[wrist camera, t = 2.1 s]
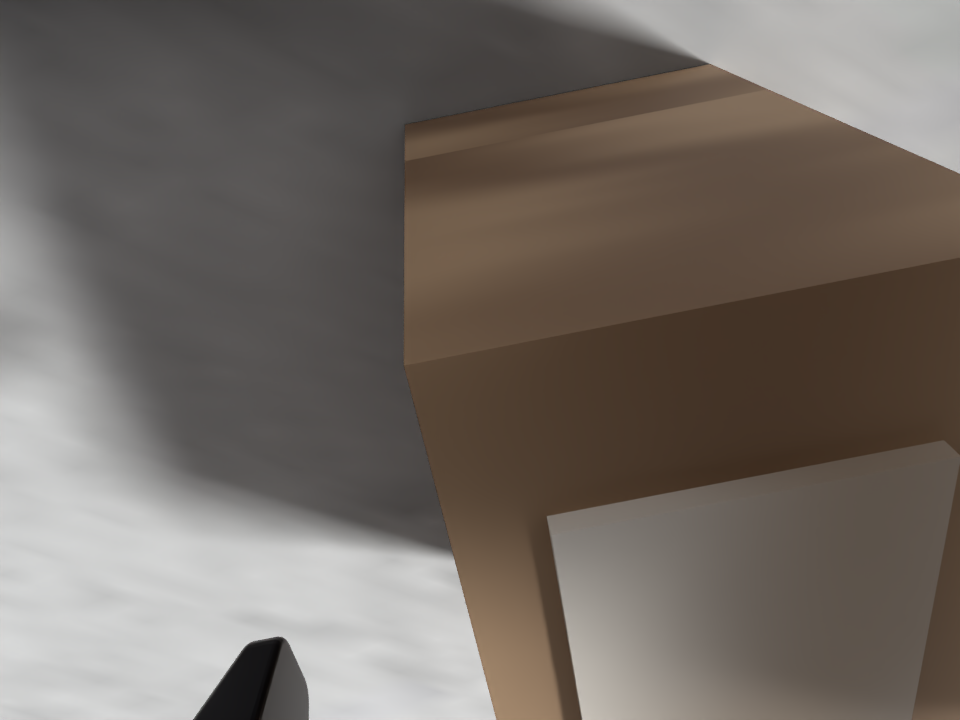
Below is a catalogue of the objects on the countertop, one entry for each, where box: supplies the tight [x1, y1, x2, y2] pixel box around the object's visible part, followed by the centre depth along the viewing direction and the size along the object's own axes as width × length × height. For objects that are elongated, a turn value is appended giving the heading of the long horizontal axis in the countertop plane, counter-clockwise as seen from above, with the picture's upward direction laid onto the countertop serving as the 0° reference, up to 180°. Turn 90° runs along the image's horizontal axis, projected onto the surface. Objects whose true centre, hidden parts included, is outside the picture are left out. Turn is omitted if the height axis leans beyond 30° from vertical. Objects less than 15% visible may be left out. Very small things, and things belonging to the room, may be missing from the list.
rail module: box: [404, 64, 960, 720], centre depth 10 cm, size 4×9×7 cm, turn 10°
